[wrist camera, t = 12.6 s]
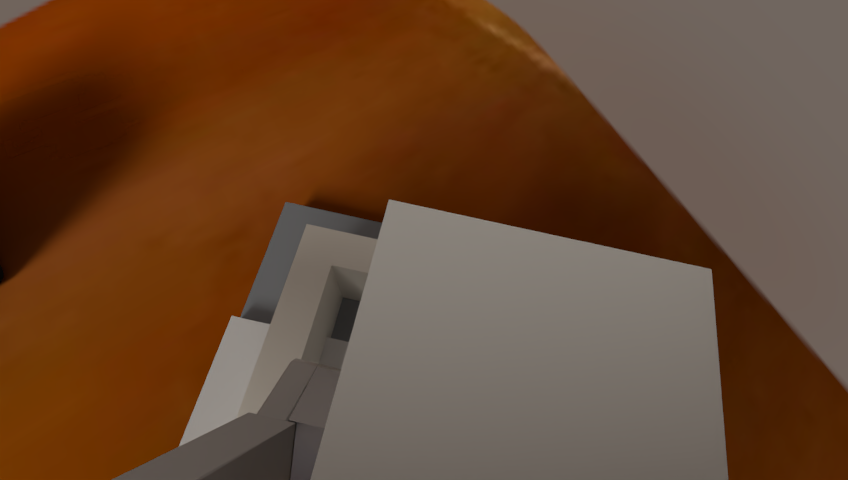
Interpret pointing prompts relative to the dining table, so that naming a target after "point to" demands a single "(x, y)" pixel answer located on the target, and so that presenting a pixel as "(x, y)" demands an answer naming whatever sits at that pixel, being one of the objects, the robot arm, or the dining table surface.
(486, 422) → the block
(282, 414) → the robot arm
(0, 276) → the battery
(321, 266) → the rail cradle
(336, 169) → the dining table surface
